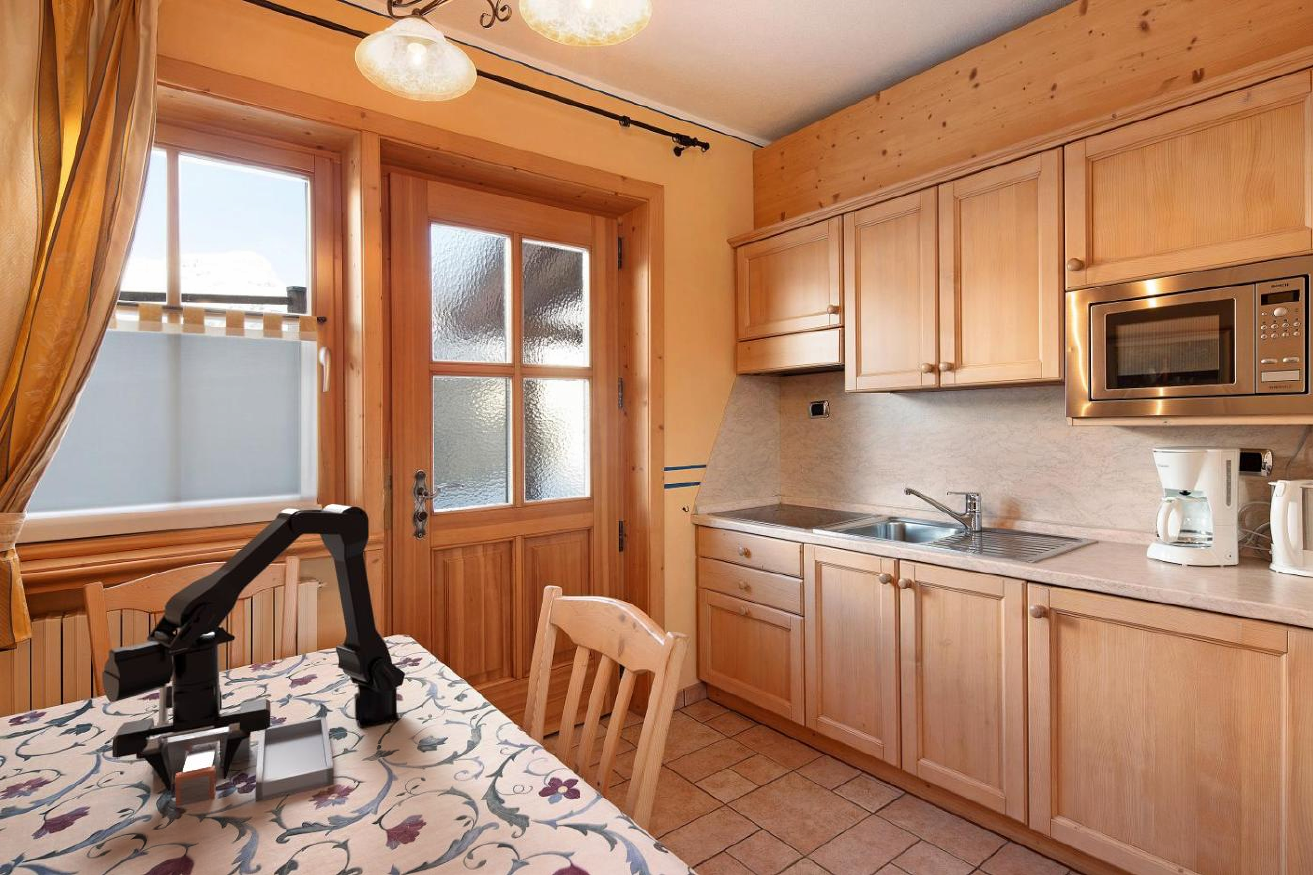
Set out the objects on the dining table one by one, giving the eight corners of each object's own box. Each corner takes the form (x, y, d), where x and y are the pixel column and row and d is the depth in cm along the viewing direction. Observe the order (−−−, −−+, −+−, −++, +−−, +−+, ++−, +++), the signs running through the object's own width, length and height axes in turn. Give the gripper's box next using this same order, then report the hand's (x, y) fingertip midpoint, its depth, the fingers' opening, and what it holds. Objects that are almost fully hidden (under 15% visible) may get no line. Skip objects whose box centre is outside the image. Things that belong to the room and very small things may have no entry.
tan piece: (188, 760, 108) (188, 734, 108) (222, 754, 111) (222, 728, 111) (175, 807, 95) (174, 778, 95) (214, 799, 97) (214, 770, 97)
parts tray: (326, 730, 119) (325, 716, 119) (333, 783, 101) (333, 767, 101) (259, 743, 114) (259, 728, 114) (255, 802, 96) (255, 784, 96)
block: (250, 749, 112) (250, 717, 112) (249, 759, 109) (249, 727, 108) (157, 767, 106) (156, 734, 106) (153, 779, 103) (152, 745, 102)
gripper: (270, 651, 111) (271, 746, 111) (126, 671, 102) (128, 775, 102) (269, 673, 101) (270, 777, 101) (110, 698, 92) (112, 812, 92)
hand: (197, 783), depth 99 cm, fingers open, 6 cm apart
